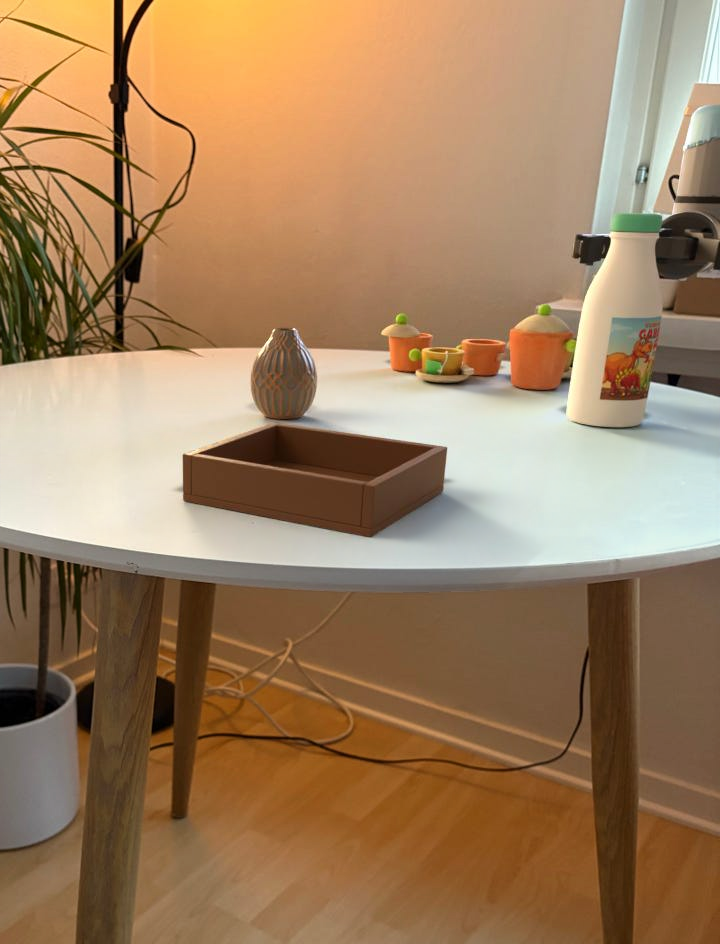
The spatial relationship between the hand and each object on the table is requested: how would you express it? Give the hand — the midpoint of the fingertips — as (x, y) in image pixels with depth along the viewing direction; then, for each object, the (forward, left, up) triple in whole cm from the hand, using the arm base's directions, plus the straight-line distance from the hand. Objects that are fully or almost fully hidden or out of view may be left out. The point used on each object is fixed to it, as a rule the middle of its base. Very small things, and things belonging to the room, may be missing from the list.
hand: (650, 253), depth 104 cm
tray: (+12, +52, -16) cm, 55 cm away
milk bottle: (0, +10, -16) cm, 19 cm away
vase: (+29, +27, -16) cm, 43 cm away
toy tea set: (+20, -8, -16) cm, 27 cm away
